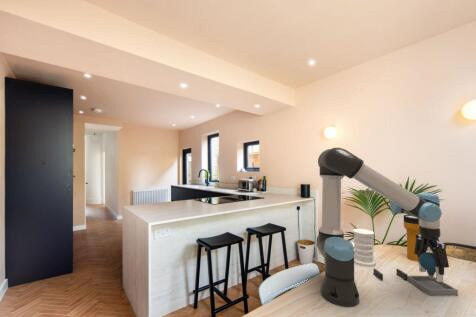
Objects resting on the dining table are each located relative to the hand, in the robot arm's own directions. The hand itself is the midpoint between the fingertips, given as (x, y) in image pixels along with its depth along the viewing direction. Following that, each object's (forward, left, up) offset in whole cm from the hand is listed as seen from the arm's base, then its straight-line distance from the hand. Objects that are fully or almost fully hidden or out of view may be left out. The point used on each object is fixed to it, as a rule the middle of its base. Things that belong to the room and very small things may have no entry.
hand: (430, 276), depth 104 cm
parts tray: (0, 0, -5) cm, 5 cm away
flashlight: (+18, +33, -6) cm, 38 cm away
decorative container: (-16, +28, -6) cm, 32 cm away
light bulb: (0, 0, -2) cm, 2 cm away
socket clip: (-13, +10, -5) cm, 17 cm away
